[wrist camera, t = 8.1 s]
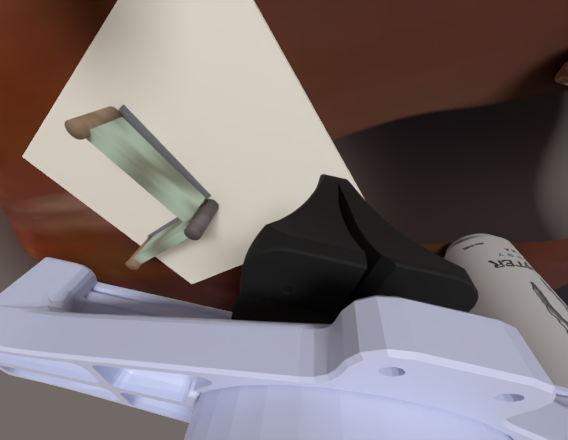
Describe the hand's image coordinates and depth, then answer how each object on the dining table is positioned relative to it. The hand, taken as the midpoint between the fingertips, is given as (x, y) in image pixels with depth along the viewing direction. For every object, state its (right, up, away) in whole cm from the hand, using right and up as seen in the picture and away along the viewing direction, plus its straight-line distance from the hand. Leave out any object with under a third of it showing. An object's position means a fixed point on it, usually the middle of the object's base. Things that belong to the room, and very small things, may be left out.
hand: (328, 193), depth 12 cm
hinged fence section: (-14, +4, +10) cm, 18 cm away
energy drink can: (+18, -4, +13) cm, 22 cm away
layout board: (-12, +3, +12) cm, 17 cm away
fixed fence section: (-15, -2, +16) cm, 21 cm away
